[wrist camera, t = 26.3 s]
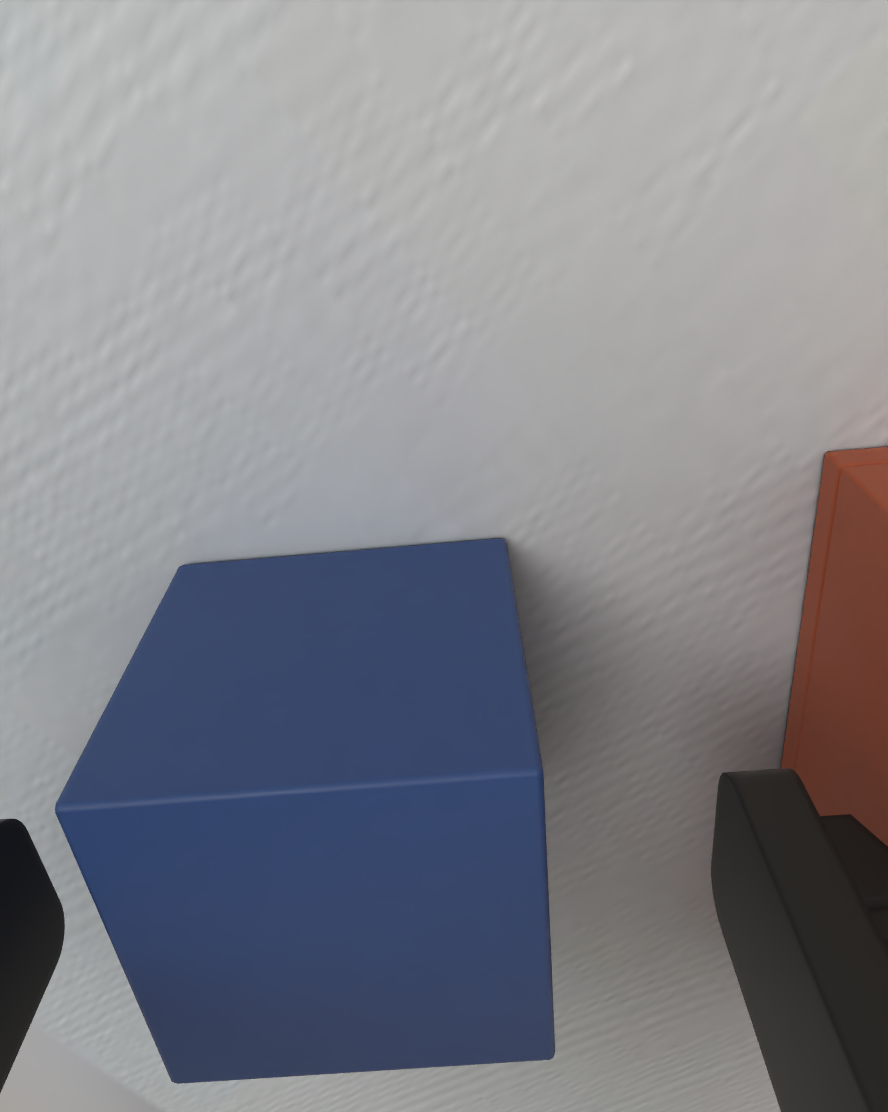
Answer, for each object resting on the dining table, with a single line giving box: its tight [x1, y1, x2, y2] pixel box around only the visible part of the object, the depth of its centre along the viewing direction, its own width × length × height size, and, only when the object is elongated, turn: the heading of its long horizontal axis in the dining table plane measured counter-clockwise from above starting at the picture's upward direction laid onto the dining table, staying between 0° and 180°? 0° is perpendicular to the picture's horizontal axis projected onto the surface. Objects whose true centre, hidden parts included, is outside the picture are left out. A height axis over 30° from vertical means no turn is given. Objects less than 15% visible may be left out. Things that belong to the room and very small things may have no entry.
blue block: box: [55, 538, 555, 1084], centre depth 11 cm, size 4×4×4 cm
